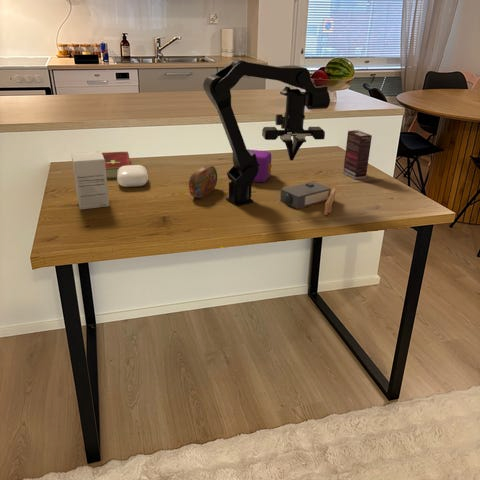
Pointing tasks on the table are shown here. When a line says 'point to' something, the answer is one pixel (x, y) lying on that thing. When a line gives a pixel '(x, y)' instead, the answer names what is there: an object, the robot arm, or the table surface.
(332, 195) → the side door
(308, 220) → the table surface
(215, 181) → the tin
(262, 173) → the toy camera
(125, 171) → the earbud case
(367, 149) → the supplement box
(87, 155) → the supplement box
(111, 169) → the hardcover book
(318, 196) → the block
